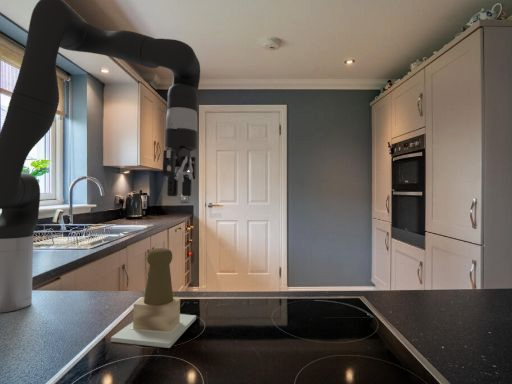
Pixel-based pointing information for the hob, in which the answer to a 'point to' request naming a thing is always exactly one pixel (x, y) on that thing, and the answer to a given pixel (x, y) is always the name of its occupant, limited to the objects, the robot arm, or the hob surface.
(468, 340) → the hob surface
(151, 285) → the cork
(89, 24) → the robot arm
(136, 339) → the board
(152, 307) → the oak block
